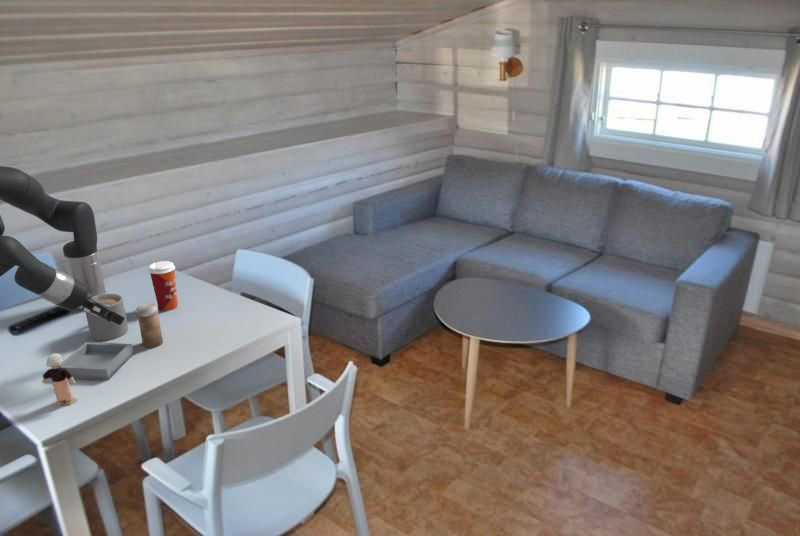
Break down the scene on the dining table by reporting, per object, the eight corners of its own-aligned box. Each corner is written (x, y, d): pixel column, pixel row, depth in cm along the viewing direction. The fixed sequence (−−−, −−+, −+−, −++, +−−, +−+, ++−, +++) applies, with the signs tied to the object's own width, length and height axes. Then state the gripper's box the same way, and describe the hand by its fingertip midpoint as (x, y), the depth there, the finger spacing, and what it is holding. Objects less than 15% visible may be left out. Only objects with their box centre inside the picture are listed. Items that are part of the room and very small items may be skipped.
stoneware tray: (59, 377, 161) (57, 367, 160) (88, 351, 173) (85, 342, 172) (108, 379, 160) (106, 369, 158) (133, 353, 171) (132, 344, 170)
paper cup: (176, 312, 195) (169, 269, 190) (151, 312, 195) (143, 269, 190) (184, 301, 202) (178, 260, 197) (160, 301, 202) (153, 260, 197)
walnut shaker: (139, 347, 175) (132, 311, 170) (148, 338, 180) (141, 302, 175) (158, 348, 174) (151, 312, 170) (166, 339, 179) (160, 303, 175)
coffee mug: (124, 338, 180) (118, 306, 176) (86, 342, 178) (79, 309, 174) (133, 317, 192) (127, 287, 188) (98, 321, 190) (91, 290, 186)
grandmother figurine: (84, 395, 153) (73, 349, 148) (79, 404, 150) (67, 357, 145) (50, 398, 152) (38, 351, 147) (44, 407, 149) (31, 360, 144)
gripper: (38, 293, 157) (92, 319, 170) (65, 312, 149) (119, 337, 162) (57, 267, 159) (108, 295, 172) (84, 284, 151) (136, 312, 163)
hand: (113, 316), depth 167 cm, fingers open, 8 cm apart
